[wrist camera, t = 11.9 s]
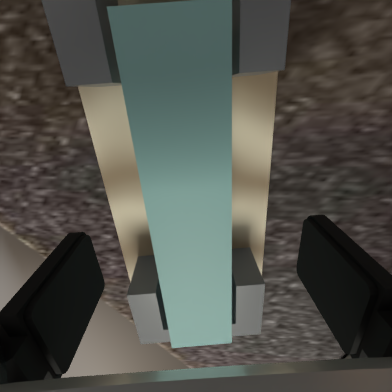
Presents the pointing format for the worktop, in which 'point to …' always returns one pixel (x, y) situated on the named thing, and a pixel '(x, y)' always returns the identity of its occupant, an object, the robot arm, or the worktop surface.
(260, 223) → the base board
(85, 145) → the worktop surface
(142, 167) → the slat
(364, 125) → the worktop surface
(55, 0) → the grey slat holder
